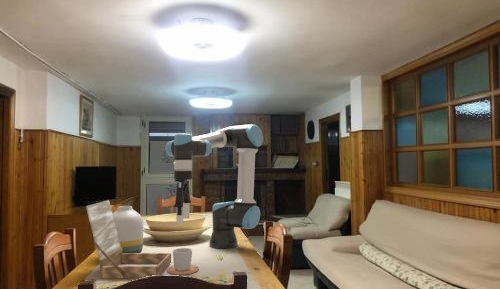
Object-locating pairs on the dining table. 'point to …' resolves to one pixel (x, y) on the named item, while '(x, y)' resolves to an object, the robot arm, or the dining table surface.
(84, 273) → the dining table surface
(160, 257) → the cold frame
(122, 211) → the vase
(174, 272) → the saucer
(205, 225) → the dining table surface
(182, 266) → the cup
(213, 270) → the dining table surface
